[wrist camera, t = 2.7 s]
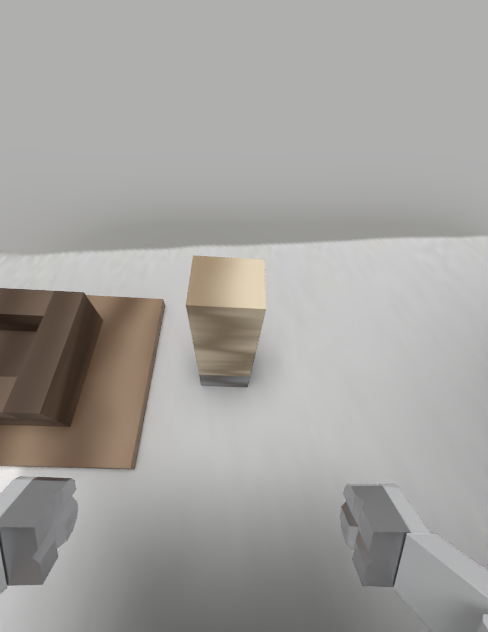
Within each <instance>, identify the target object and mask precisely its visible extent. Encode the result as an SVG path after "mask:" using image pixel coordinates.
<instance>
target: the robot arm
mask: <svg viewBox="0 0 488 632" xmlns="http://www.w3.org/2000/svg"><path fill="white" fill-rule="evenodd" d="M75 490H76V485H75V480H74V479H71V478H51V477H22V476H20V477H18V478H16V479H14V480H13V481H12V482H11V483H10V484H9V485H8V486H7V487H6V488H5V489H4V491H3V492H2V493H1V494H0V594H1V593H2V592H3V591H4V590H5V589H7V586H11V585H43V583H44V581H45V580H46V578H47V576H48V574H49V572H50V571H51V569H52V567H53V565H54V564H55V562H56V560H57V558H58V552H57V548H59V547H60V546H61V545H62V544H64V543H65V542H66V541H67V540H68V538H69V537H70V535H71V533H72V531H73V528H74V525H75V522H76V519H77V513H78V504H77V501H76V500H75V499H74V498H73V497H72V495H73V494H74V492H75ZM344 497H345V499H346V502H345V503H344V504H343V505H342V506H341V514H340V519H341V528H342V532H343V536H344V539H345V541H346V544H347V545H348V546H349V547H350V548H351V549H352V550H354V553H353V559H352V560H353V563H354V565H355V568H356V571H357V573H358V576H359V578H360V581H361V584H362V586H382V587H394V590H395V591H396V592H397V593H398V595H399V596H400V597H401V598H402V599H403V600H404V601H405V602H406V603H407V605H408V606H409V607H410V608H411V609H412V610H413V611H414V612H415V614H416V615H417V616H418V617H419V618H420V619H421V620H422V621H423V622H424V624H425V625H426V626H427V627H428V628H429V629H430V630H431V631H432V632H488V571H487V570H486V569H485V568H483V567H482V566H480V565H479V564H478V563H476V562H475V561H474V560H472V559H471V558H469V557H468V556H467V555H465V554H464V553H462V552H461V551H460V550H458V549H457V548H455V547H454V546H453V545H451V544H450V543H448V542H447V541H446V540H444V539H443V538H442V537H440V536H439V535H437V534H431V533H430V531H429V530H428V528H427V527H426V525H425V524H424V523H423V521H422V520H421V518H420V517H419V515H418V514H417V512H416V511H415V509H414V508H413V507H412V505H411V504H410V502H409V501H408V499H407V498H406V496H405V495H404V493H403V492H402V491H401V489H400V488H399V487H398V486H397V485H396V484H347V485H346V486H345V489H344Z"/></svg>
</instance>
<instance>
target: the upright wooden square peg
mask: <svg viewBox="0 0 488 632" xmlns="http://www.w3.org/2000/svg"><path fill="white" fill-rule="evenodd" d="M186 308H187V313H188V318H189V323H190V329H191V334H192V339H193V344H194V350H195V355H196V360H197V365H198V370H199V376H200V381H201V385H202V386H229V387H248V383H249V379H250V375H251V370H252V366H253V362H254V358H255V353H256V349H257V345H258V341H259V337H260V332H261V328H262V324H263V320H264V315H265V311H266V287H265V260H259V259H242V258H225V257H207V256H193V260H192V267H191V274H190V281H189V288H188V295H187V301H186Z"/></svg>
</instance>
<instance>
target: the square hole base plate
mask: <svg viewBox="0 0 488 632" xmlns="http://www.w3.org/2000/svg"><path fill="white" fill-rule="evenodd" d="M164 308H165V304H164V301H163V299H149V298H129V297H109V296H90V295H85V293H84V292H65V291H46V290H26V289H6V288H0V466H27V467H67V468H107V469H134V468H135V463H136V457H137V452H138V447H139V441H140V436H141V430H142V425H143V420H144V414H145V409H146V404H147V398H148V393H149V388H150V382H151V377H152V372H153V366H154V361H155V356H156V350H157V345H158V340H159V334H160V329H161V324H162V318H163V313H164Z"/></svg>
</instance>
